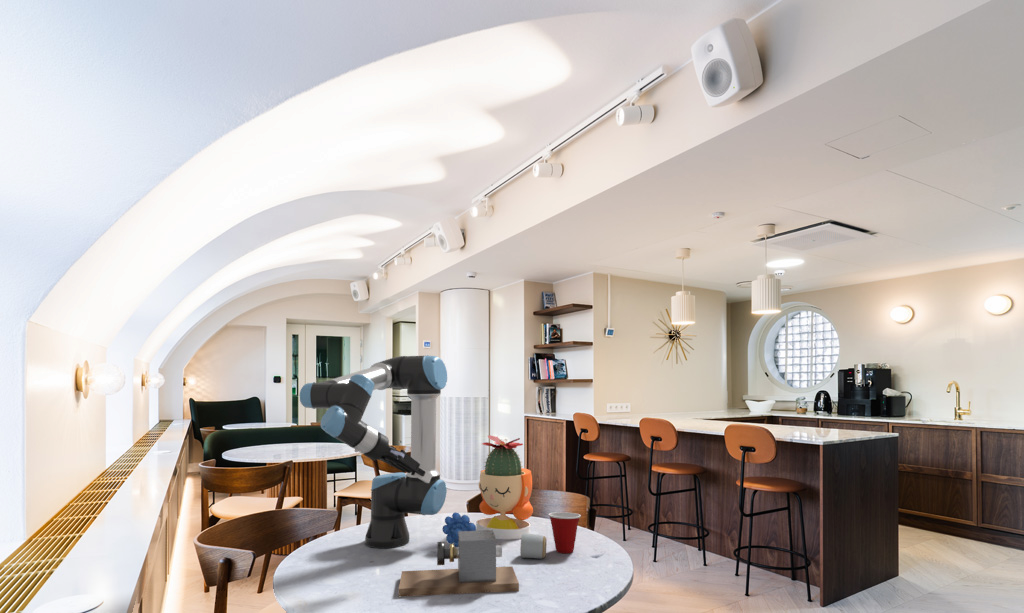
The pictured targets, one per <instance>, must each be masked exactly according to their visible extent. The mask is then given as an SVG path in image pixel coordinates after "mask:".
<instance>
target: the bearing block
mask: <svg viewBox="0 0 1024 613" xmlns="http://www.w3.org/2000/svg"><path fill="white" fill-rule="evenodd" d="M496 545H497V539H496V538H495V535H494V532H493V530H483V531H458V547H459V559H457V569H458V576H459V583H477V582H496V567H497V557H496Z"/></svg>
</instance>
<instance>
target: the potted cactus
mask: <svg viewBox="0 0 1024 613" xmlns="http://www.w3.org/2000/svg"><path fill="white" fill-rule="evenodd" d="M487 438H488V439H489V440H490V441H493V442H494V443H490V442H487V441H486V442H482V443H481V445H483V446H488V447H492V448H491V450H489V451H488V453H487V456H486V458H485V461H484V464H485V465H483V468H484V469H483V470H480V474H479V475H480V476H479V481H478V489H479V491H480V495H481V497H482V501H481V502H480V503H479V506H478V507H479V511H480V512H481V513H482V514H484V515H485V516H492V515H495V516H493V517H484V518H479V519H478V520H476V523H475V526H476V531H483V530H493V532H494V535H495V538H496V540H521V537H522V534H523V533H528V534H531V523H530V522H528V521H527V520H528V519H530V518H531V517H532V515H533V513H534V508H533V505H532V504H531V502H530V498H531V495H532V491H533V475H532V471H531V469H528V468H523V467H524V465H522V463H523V461H522V460H521V456H520V454H518V450H516V449H517V447H520V446H523V445H524V443H520V442H517V441H519V440H520V439H521V438H519V437H518V438H515V439H513V440H511V441H508V439H506V438H505V439H504V440H502V439H500V438H499V437H498V436H495V435H487ZM519 456H520V457H519ZM497 513H499V514H500V515H499V514H498V515H496V514H497ZM509 514H513V517H511V516H510V517H509V516H507V515H509Z"/></svg>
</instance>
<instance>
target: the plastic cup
mask: <svg viewBox="0 0 1024 613" xmlns="http://www.w3.org/2000/svg"><path fill="white" fill-rule="evenodd" d="M581 516H582V515H581V514H579V513H576V512H575V513H574V512H567V511H566V512H564V511H561V512H560V511H557V512H555V511H553V512H549V513H548V517H549V519H550V524H551V529H552V536H553V541H554V546H555V551H556V552H557V553H560V554H572V553H574V549H575V544H576V538H577V531H578V525H579V521H580V518H581Z"/></svg>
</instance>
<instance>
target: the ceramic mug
mask: <svg viewBox="0 0 1024 613" xmlns="http://www.w3.org/2000/svg"><path fill="white" fill-rule="evenodd" d="M519 550H520V551H519V552H520V558H522V559H536V560H537V559H539V560H542V559H545V557H546V556H547V554H546V553H547V537H546V536H544V535H541V534H534V533H530V534H528V533H523V534H522V537H521V539H520V549H519Z"/></svg>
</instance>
